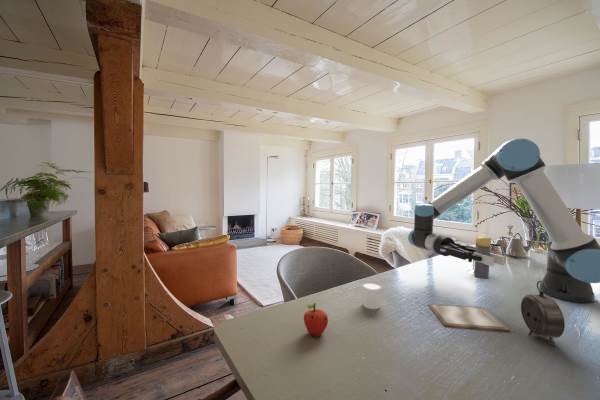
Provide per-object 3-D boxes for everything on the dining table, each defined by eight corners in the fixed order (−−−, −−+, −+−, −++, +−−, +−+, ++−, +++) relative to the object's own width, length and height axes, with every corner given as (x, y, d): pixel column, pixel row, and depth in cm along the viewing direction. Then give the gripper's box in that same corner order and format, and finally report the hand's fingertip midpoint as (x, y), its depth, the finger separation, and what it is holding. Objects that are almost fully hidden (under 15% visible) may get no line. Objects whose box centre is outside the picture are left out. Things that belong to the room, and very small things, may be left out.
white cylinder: (382, 303, 94) (383, 284, 94) (379, 311, 88) (380, 291, 87) (363, 299, 97) (363, 281, 97) (359, 307, 91) (359, 287, 90)
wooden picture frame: (483, 309, 90) (483, 307, 90) (510, 331, 76) (510, 329, 76) (428, 305, 93) (428, 303, 93) (444, 326, 79) (444, 324, 79)
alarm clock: (564, 350, 68) (569, 289, 67) (540, 347, 69) (544, 287, 68) (536, 328, 78) (539, 274, 78) (515, 326, 80) (518, 273, 79)
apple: (303, 327, 78) (304, 294, 77) (326, 327, 78) (327, 294, 77) (303, 342, 70) (303, 306, 70) (328, 343, 70) (329, 306, 70)
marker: (484, 275, 91) (486, 236, 90) (491, 279, 87) (493, 239, 86) (471, 274, 91) (473, 236, 91) (477, 278, 87) (479, 238, 86)
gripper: (456, 252, 108) (517, 270, 86) (422, 255, 104) (477, 275, 81) (457, 234, 108) (518, 248, 85) (423, 236, 103) (478, 251, 81)
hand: (498, 261), depth 83 cm, fingers closed on marker, 4 cm apart
